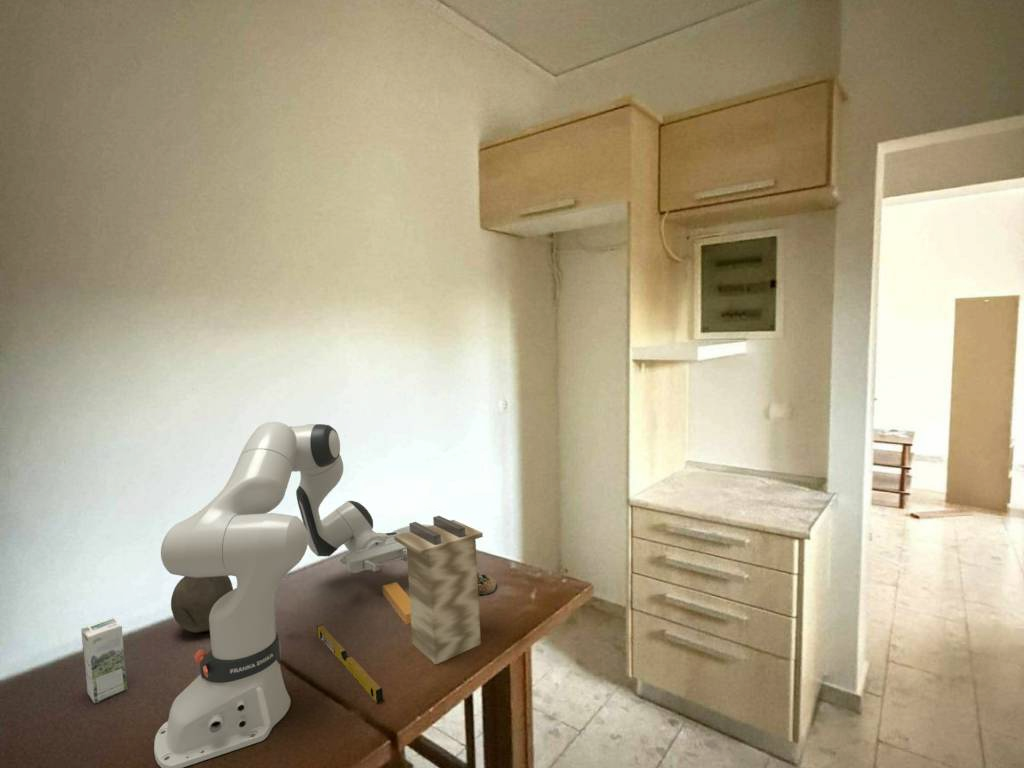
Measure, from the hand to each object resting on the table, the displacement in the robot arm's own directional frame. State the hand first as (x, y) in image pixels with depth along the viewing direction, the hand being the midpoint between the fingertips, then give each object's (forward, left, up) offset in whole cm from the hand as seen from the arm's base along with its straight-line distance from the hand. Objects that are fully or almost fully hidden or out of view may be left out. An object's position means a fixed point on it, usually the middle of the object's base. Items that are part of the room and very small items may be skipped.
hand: (393, 563), depth 144 cm
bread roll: (+22, -8, -11) cm, 26 cm away
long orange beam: (0, -4, -11) cm, 12 cm away
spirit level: (-21, -20, -11) cm, 31 cm away
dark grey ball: (-43, +21, -11) cm, 49 cm away
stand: (0, -27, -11) cm, 29 cm away
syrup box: (-63, +5, -11) cm, 64 cm away
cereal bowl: (+21, +29, -11) cm, 37 cm away
